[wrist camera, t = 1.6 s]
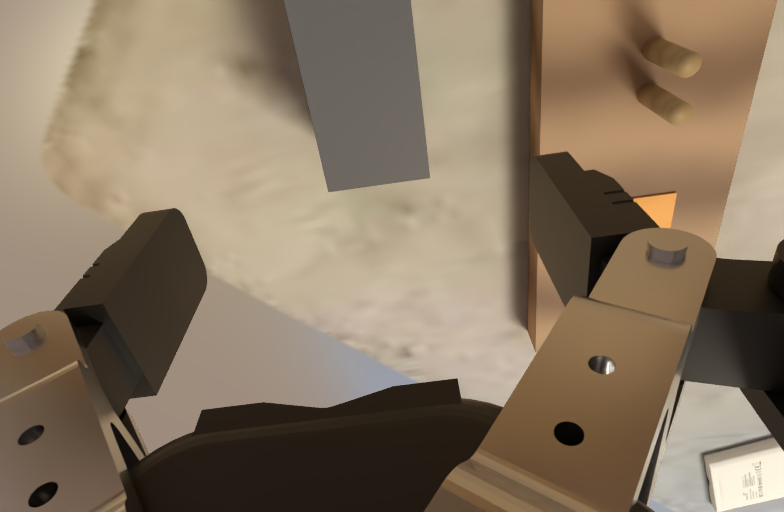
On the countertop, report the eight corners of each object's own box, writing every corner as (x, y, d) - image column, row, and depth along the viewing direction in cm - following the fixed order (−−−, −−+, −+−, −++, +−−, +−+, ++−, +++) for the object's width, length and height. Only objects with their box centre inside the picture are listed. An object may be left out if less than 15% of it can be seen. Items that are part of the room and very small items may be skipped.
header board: (531, -38, 22) (567, -29, 18) (764, -76, 22) (855, -75, 18) (527, 331, 34) (548, 387, 30) (677, 312, 34) (720, 367, 30)
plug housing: (296, -34, 22) (278, -23, 18) (400, -51, 22) (405, -44, 18) (335, 150, 27) (328, 192, 23) (421, 138, 27) (429, 177, 23)
